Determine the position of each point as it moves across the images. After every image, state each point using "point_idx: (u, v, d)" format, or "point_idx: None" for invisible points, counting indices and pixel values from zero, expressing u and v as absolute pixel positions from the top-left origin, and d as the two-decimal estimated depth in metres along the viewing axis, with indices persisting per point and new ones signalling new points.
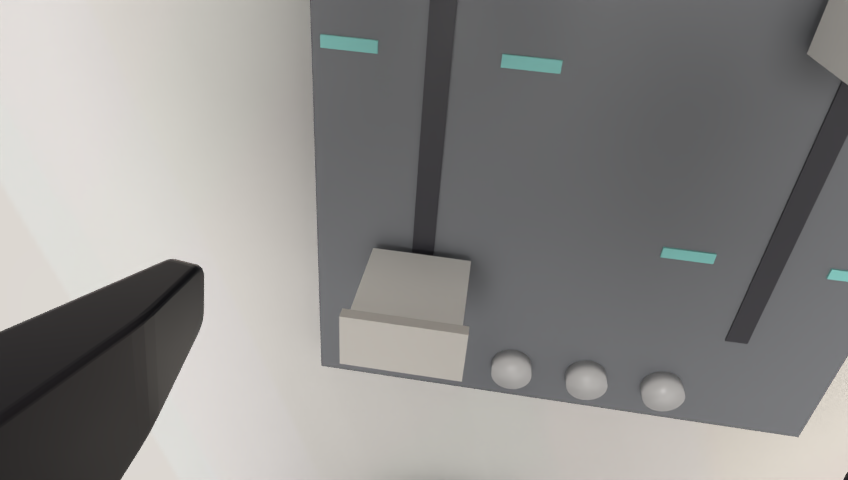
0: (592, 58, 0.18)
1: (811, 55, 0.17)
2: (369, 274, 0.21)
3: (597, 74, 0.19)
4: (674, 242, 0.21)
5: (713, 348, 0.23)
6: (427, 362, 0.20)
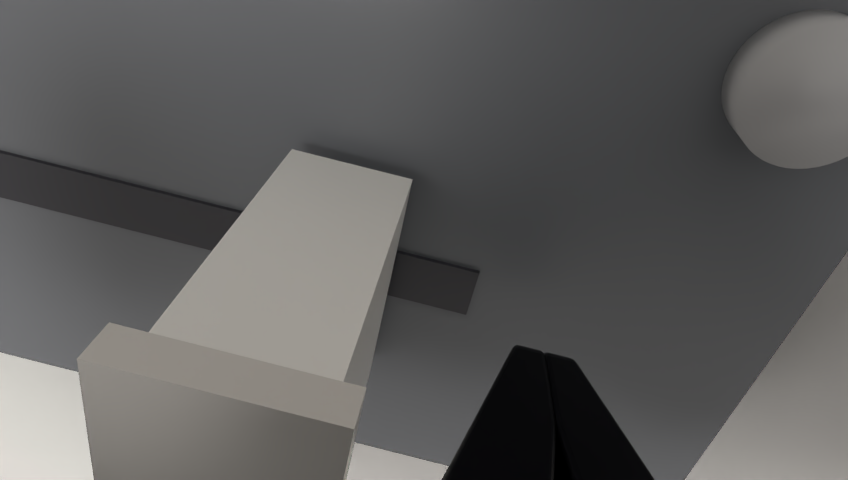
0: None
1: None
2: None
3: None
4: None
5: None
6: None
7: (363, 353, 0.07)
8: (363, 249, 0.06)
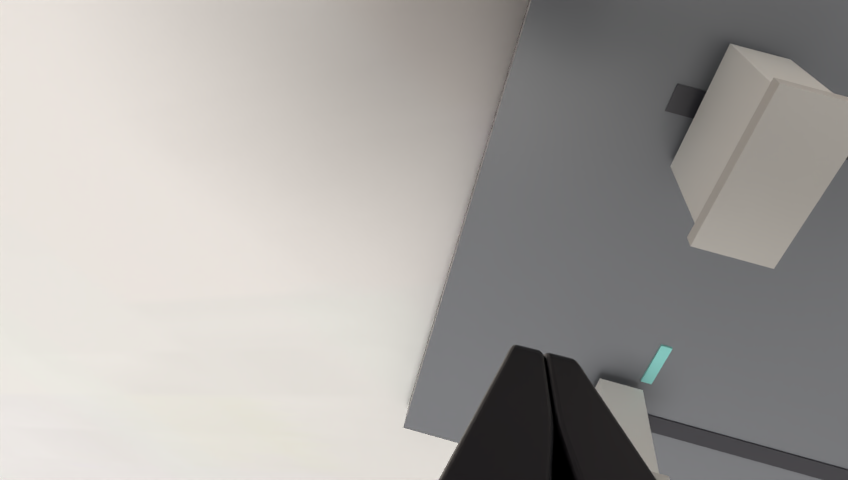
0: (667, 325, 0.21)
1: None
2: None
3: (683, 323, 0.21)
4: None
5: None
6: None
7: None
8: (643, 426, 0.21)
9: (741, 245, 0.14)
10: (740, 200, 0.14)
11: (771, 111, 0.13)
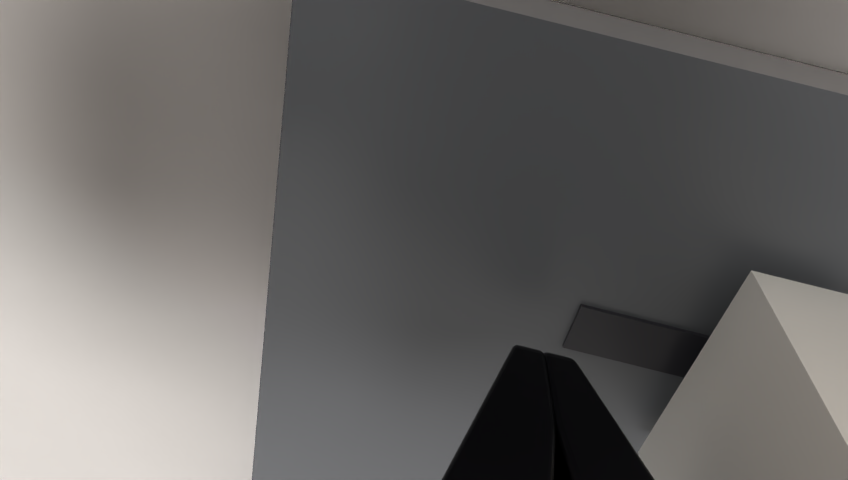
0: None
1: None
2: None
3: None
4: None
5: None
6: None
7: None
8: None
9: None
10: None
11: None
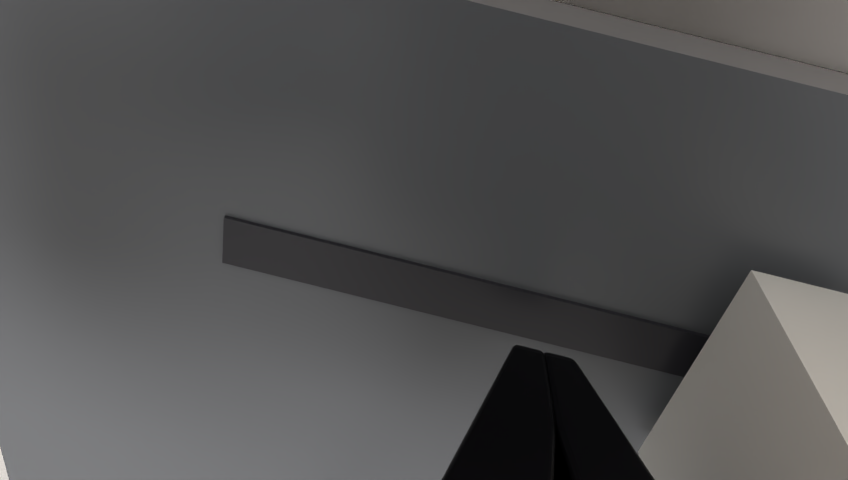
0: None
1: None
2: None
3: None
4: None
5: None
6: None
7: None
8: None
9: None
10: None
11: None
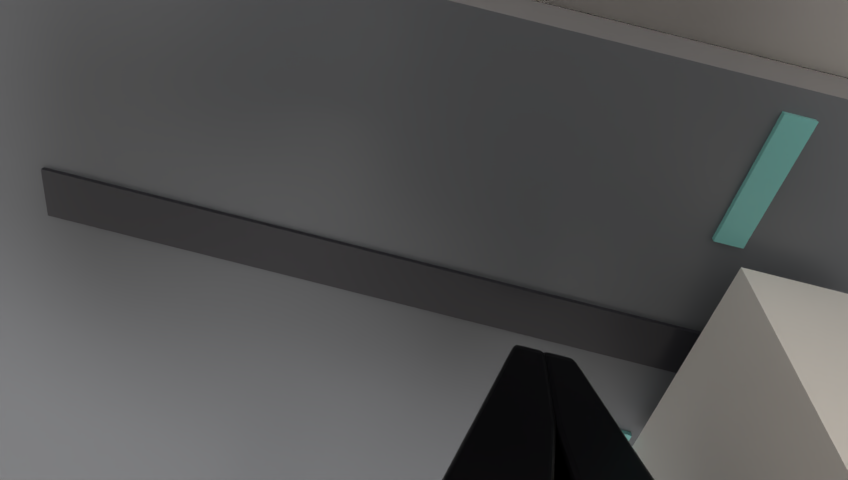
0: None
1: None
2: None
3: None
4: None
5: None
6: None
7: None
8: None
9: None
10: None
11: None
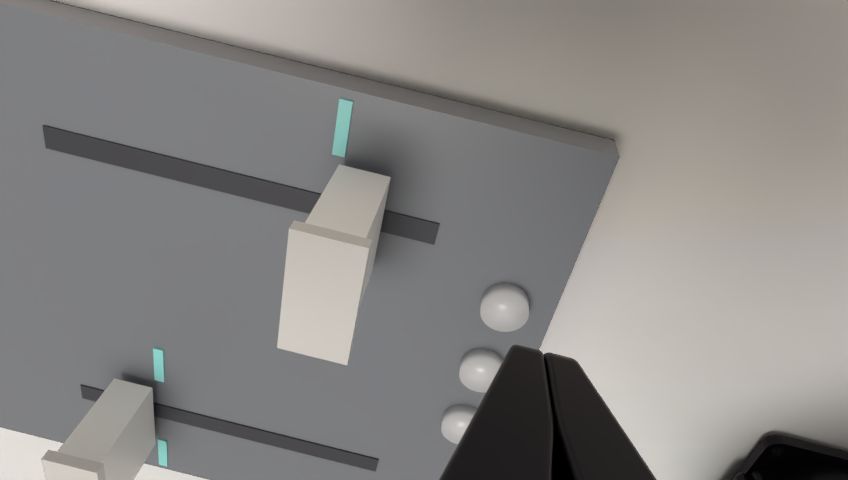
0: (150, 330, 0.24)
1: (368, 276, 0.20)
2: None
3: (161, 328, 0.24)
4: None
5: (447, 253, 0.20)
6: None
7: (125, 447, 0.24)
8: (122, 420, 0.24)
9: (314, 347, 0.17)
10: (298, 313, 0.16)
11: (291, 248, 0.15)
